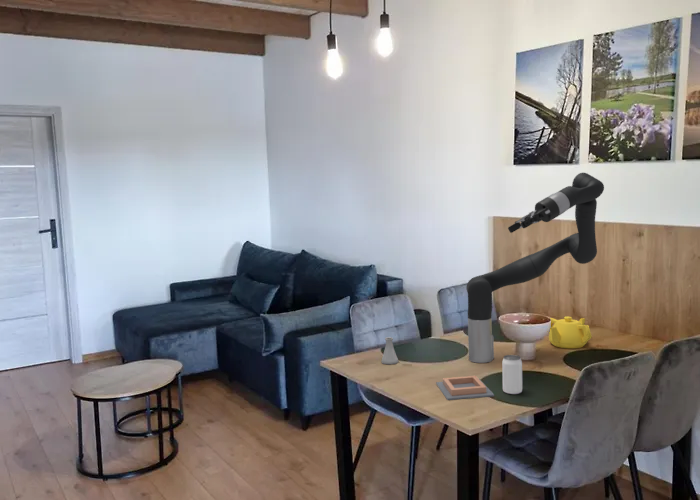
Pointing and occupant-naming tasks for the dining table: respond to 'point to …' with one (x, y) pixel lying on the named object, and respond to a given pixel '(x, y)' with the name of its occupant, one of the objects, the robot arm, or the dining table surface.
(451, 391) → the tray
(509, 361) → the can
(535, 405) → the dining table surface
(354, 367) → the dining table surface
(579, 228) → the robot arm
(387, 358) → the flask
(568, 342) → the teapot
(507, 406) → the dining table surface
